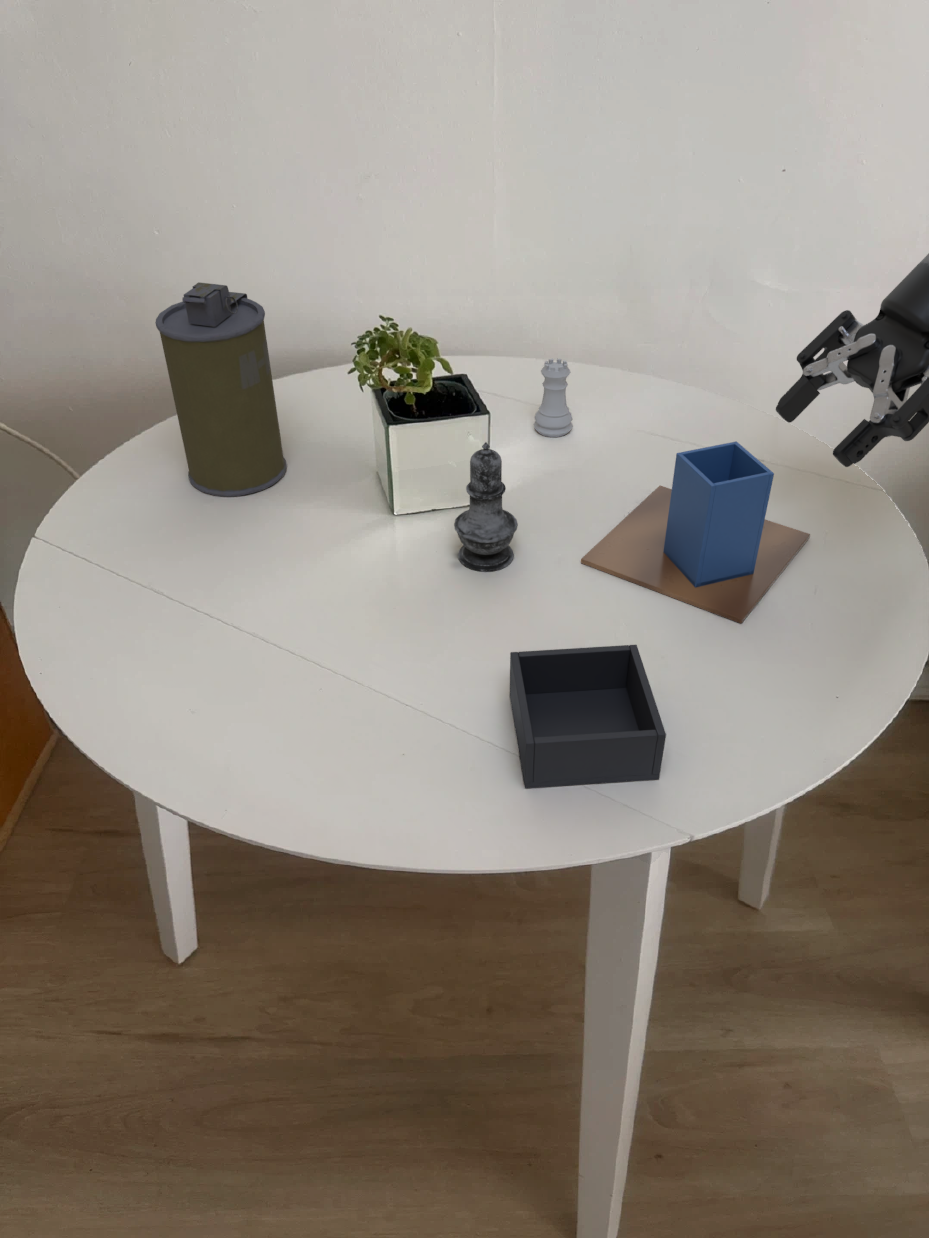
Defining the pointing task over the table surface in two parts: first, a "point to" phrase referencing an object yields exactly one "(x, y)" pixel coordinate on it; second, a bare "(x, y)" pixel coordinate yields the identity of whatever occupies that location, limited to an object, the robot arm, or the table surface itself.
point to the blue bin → (717, 513)
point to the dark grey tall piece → (485, 516)
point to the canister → (223, 390)
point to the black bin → (584, 716)
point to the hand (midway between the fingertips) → (809, 438)
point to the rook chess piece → (554, 401)
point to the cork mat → (643, 562)
